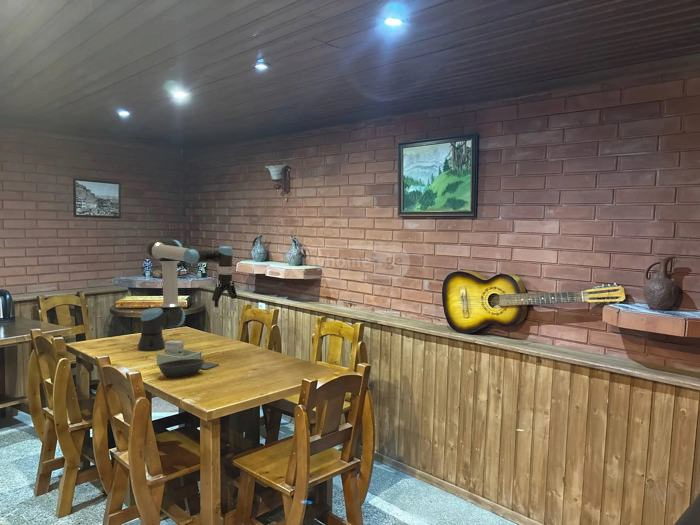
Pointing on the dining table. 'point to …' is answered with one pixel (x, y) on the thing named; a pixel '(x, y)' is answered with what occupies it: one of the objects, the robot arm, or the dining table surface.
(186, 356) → the grey open box
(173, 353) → the ink box
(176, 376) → the bowl
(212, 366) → the stand mat
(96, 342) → the dining table surface
